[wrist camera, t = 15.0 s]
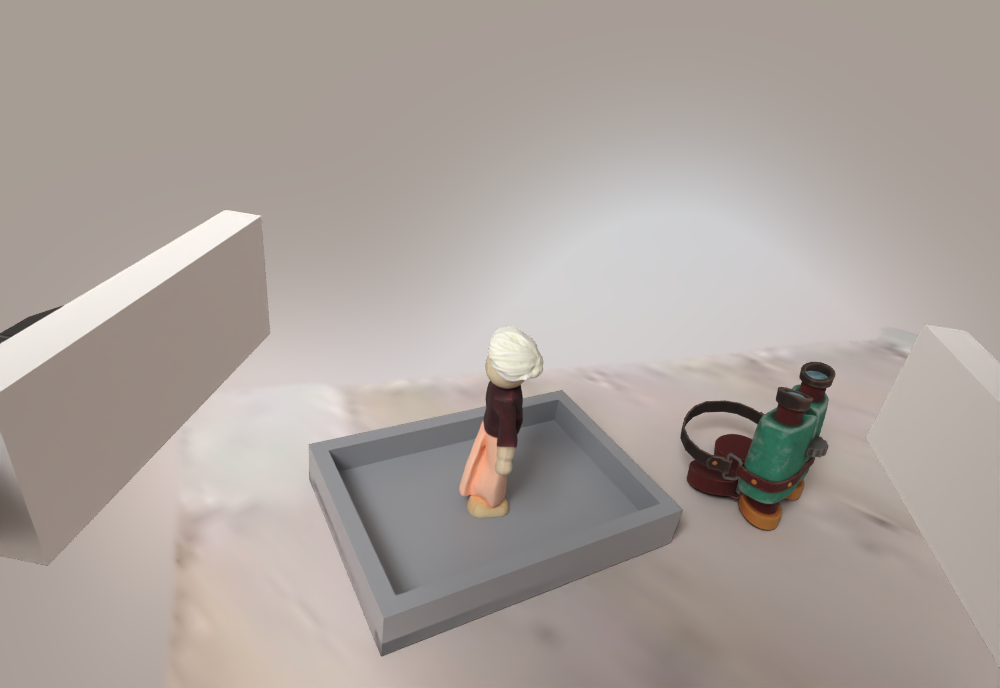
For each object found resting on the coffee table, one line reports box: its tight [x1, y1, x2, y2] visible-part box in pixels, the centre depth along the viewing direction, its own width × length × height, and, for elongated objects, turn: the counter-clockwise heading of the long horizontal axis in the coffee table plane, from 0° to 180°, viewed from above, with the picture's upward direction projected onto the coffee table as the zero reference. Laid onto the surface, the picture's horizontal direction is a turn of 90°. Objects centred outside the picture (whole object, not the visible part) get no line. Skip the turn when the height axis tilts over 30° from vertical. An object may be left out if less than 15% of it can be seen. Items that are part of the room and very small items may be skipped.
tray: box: [309, 390, 683, 656], centre depth 42 cm, size 20×14×3 cm
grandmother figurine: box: [459, 326, 543, 518], centre depth 39 cm, size 8×4×13 cm, turn 11°
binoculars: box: [681, 362, 835, 530], centre depth 46 cm, size 9×11×10 cm
